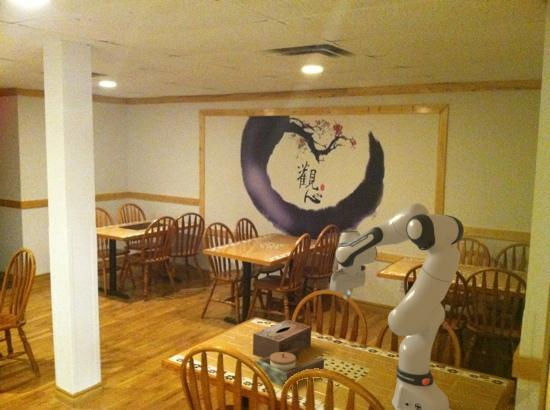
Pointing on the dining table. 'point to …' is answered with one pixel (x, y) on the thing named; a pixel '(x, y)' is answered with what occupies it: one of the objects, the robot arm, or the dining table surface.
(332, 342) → the dining table surface
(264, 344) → the tissue box cover
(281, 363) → the lidded jar
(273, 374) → the u-shaped frame
